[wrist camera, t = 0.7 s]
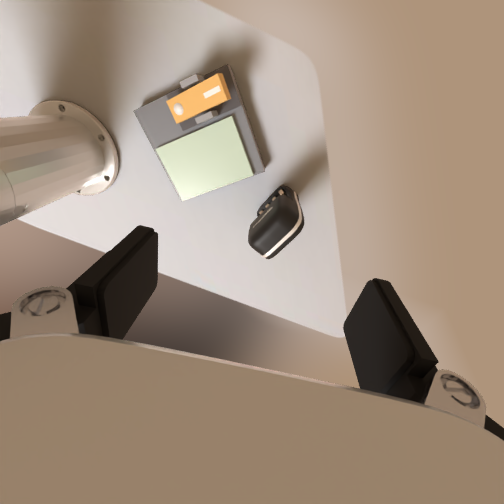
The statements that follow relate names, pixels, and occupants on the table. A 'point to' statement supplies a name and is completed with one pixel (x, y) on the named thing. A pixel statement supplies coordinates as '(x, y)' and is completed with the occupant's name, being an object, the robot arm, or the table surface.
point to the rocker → (199, 98)
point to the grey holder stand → (203, 140)
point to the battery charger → (276, 223)
